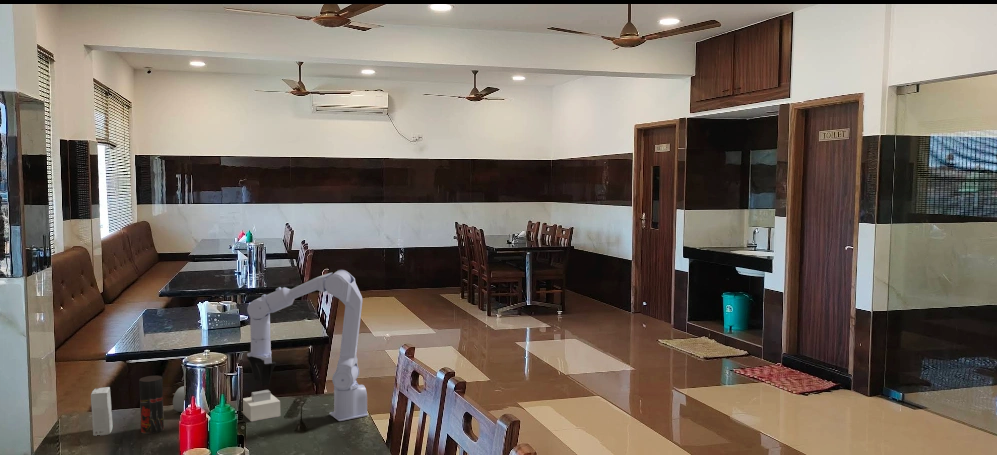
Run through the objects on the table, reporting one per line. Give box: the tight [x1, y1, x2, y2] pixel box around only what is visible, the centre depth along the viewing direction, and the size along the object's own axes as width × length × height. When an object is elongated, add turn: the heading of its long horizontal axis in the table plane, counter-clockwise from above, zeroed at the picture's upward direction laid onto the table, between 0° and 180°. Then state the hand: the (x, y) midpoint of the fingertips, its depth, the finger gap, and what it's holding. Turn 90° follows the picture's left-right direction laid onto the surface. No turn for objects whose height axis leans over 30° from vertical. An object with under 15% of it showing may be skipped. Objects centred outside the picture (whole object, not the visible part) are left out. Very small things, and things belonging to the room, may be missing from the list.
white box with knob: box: [242, 389, 281, 422], centre depth 224 cm, size 9×9×7 cm
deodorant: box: [138, 375, 165, 435], centre depth 211 cm, size 6×6×15 cm
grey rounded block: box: [172, 385, 185, 413], centre depth 228 cm, size 11×8×8 cm
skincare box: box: [90, 386, 114, 437], centre depth 209 cm, size 6×4×12 cm
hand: (261, 381), depth 224 cm, fingers open, 7 cm apart
